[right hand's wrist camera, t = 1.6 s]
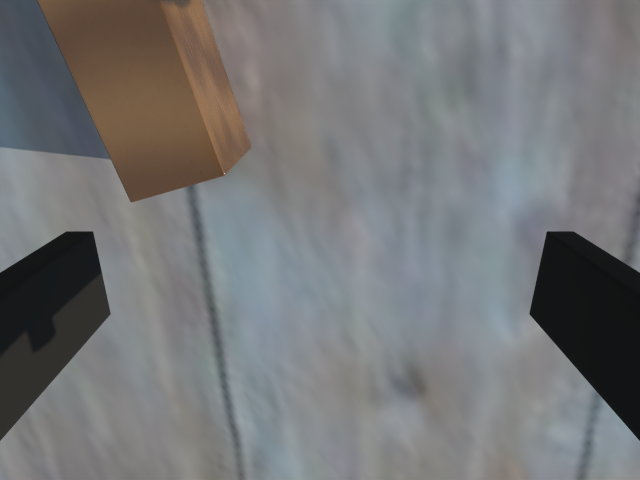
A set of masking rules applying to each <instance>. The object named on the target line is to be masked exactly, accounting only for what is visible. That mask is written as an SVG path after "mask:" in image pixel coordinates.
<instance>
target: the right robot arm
mask: <svg viewBox="0 0 640 480" xmlns="http://www.w3.org/2000/svg"><path fill="white" fill-rule="evenodd" d="M109 315H110V309H109V304H108V300H107V295H106V290H105V286H104V281H103V276H102V272H101V267H100V262H99V257H98V253H97V248H96V243H95V239H94V234H93V232H65V233H63V234H62V235H60V236H59V237H57V238H55V239H54V240H52V241H51V242H49V243H47V244H46V245H44V246H43V247H41V248H39V249H38V250H36V251H35V252H33V253H31V254H30V255H28V256H27V257H25V258H23V259H22V260H20V261H18V262H17V263H15V264H14V265H12V266H10V267H9V268H7V269H6V270H4V271H2V272H1V273H0V440H1V439H2V438H3V437H4V436H5V435H6V433H7V432H8V431H9V430H10V429H11V428H12V427H13V425H14V424H15V423H16V422H17V421H18V420H19V419H20V417H21V416H22V415H23V414H24V413H25V412H26V411H27V409H28V408H29V407H30V406H31V405H32V404H33V402H34V401H35V400H36V399H37V398H38V397H39V396H40V394H41V393H42V392H43V391H44V390H45V389H46V388H47V386H48V385H49V384H50V383H51V382H52V381H53V380H54V378H55V377H56V376H57V375H58V374H59V373H60V371H61V370H62V369H63V368H64V367H65V366H66V365H67V363H68V362H69V361H70V360H71V359H72V358H73V357H74V355H75V354H76V353H77V352H78V351H79V350H80V349H81V347H82V346H83V345H84V344H85V343H86V342H87V340H88V339H89V338H90V337H91V336H92V335H93V334H94V332H95V331H96V330H97V329H98V328H99V327H100V326H101V324H102V323H103V322H104V321H105V320H106V319H107V318H108V316H109ZM530 315H531V316H532V318H533V319H534V320H535V321H536V322H537V323H538V324H539V326H540V327H541V328H542V329H543V330H544V331H545V332H546V334H547V335H548V336H549V337H550V338H551V339H552V340H553V342H554V343H555V344H556V345H557V346H558V347H559V349H560V350H561V351H562V352H563V353H564V354H565V355H566V357H567V358H568V359H569V360H570V361H571V362H572V363H573V365H574V366H575V367H576V368H577V369H578V370H579V371H580V373H581V374H582V375H583V376H584V377H585V378H586V380H587V381H588V382H589V383H590V384H591V385H592V386H593V388H594V389H595V390H596V391H597V392H598V393H599V394H600V396H601V397H602V398H603V399H604V400H605V401H606V402H607V404H608V405H609V406H610V407H611V408H612V409H613V411H614V412H615V413H616V414H617V415H618V416H619V417H620V419H621V420H622V421H623V422H624V423H625V424H626V425H627V427H628V428H629V429H630V430H631V431H632V432H633V433H634V435H635V436H636V437H637V438H638V439H639V440H640V273H639V272H638V271H636V270H634V269H633V268H631V267H630V266H628V265H626V264H625V263H623V262H622V261H620V260H618V259H617V258H615V257H613V256H612V255H610V254H609V253H607V252H605V251H604V250H602V249H601V248H599V247H597V246H596V245H594V244H593V243H591V242H589V241H588V240H586V239H585V238H583V237H581V236H580V235H578V234H577V233H575V232H547V234H546V239H545V243H544V248H543V253H542V257H541V262H540V267H539V272H538V276H537V281H536V286H535V290H534V295H533V300H532V304H531V309H530Z"/></svg>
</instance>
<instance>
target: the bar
mask: <svg viewBox="0 0 640 480" xmlns="http://www.w3.org/2000/svg"><path fill="white" fill-rule="evenodd" d="M37 1H38V3H39V5H40V8H41V10H42V12H43V14H44V16H45V18H46V21H47V23H48V25H49V27H50V29H51V31H52V34H53V36H54V38H55V40H56V42H57V44H58V46H59V49H60V51H61V53H62V55H63V57H64V59H65V62H66V64H67V66H68V68H69V70H70V72H71V74H72V77H73V79H74V81H75V83H76V85H77V87H78V90H79V92H80V94H81V96H82V98H83V100H84V102H85V105H86V107H87V109H88V111H89V113H90V115H91V118H92V120H93V122H94V124H95V126H96V128H97V130H98V133H99V135H100V137H101V139H102V141H103V143H104V146H105V148H106V150H107V152H108V154H109V156H110V158H111V161H112V163H113V165H114V167H115V169H116V171H117V174H118V176H119V178H120V180H121V182H122V184H123V186H124V189H125V191H126V193H127V195H128V197H129V199H130V202H135V201H138V200H142V199H145V198H149V197H152V196H155V195H159V194H162V193H166V192H169V191H173V190H176V189H180V188H183V187H187V186H190V185H194V184H197V183H201V182H204V181H208V180H211V179H214V178H218V177H221V176H224V175H225V174H226V173H227V172H228V171H229V170H230V169H231V168H232V167H233V166H234V165H235V164H236V163H237V162H238V161H239V160H240V159H241V158H242V157H243V156H244V154H245V153H246V152H247V151H248V150H249V149H250V148H251V145H250V143H249V140H248V137H247V134H246V131H245V128H244V125H243V122H242V119H241V116H240V113H239V110H238V107H237V104H236V101H235V98H234V95H233V92H232V90H231V87H230V84H229V81H228V78H227V75H226V72H225V69H224V66H223V63H222V60H221V57H220V54H219V51H218V48H217V45H216V42H215V39H214V36H213V34H212V31H211V28H210V25H209V22H208V19H207V16H206V13H205V10H204V7H203V4H202V1H201V0H37Z"/></svg>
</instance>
